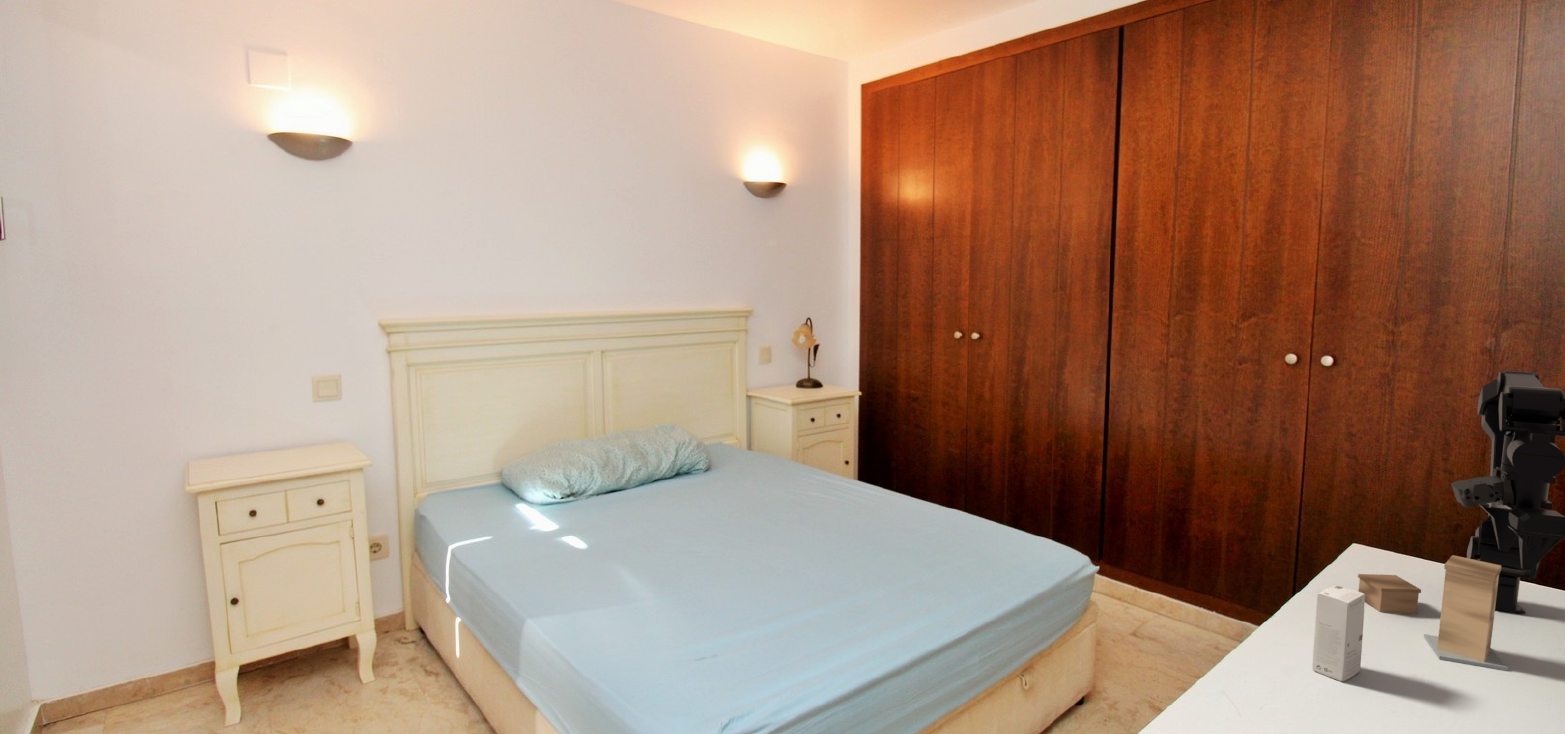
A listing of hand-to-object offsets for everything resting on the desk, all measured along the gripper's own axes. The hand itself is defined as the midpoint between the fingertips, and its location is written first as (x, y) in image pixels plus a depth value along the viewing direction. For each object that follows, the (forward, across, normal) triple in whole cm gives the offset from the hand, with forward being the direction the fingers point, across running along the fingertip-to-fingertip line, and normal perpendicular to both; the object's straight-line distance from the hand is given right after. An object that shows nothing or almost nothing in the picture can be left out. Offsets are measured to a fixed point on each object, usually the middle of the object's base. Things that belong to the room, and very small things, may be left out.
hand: (1514, 560), depth 124 cm
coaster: (+13, +10, -8) cm, 18 cm away
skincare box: (+13, +25, -27) cm, 39 cm away
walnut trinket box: (+13, -6, -14) cm, 20 cm away
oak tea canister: (+12, +10, -8) cm, 18 cm away
